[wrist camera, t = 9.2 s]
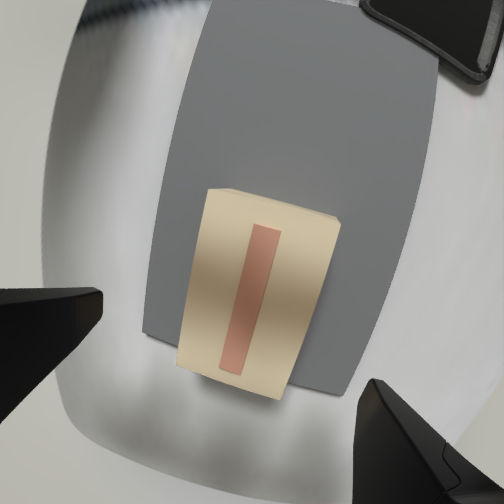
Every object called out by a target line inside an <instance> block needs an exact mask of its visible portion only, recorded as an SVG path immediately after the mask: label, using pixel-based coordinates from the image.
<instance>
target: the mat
mask: <svg viewBox="0 0 504 504" xmlns="http://www.w3.org/2000/svg"><path fill="white" fill-rule="evenodd" d="M438 64H439V56H437V55H436V54H434V53H433V52H431V51H430V50H428V49H427V48H425V47H423V46H422V45H420V44H419V43H417V42H415V41H414V40H412V39H410V38H409V37H407V36H405V35H403V34H402V33H400V32H398V31H396V30H394V29H393V28H391V27H389V26H387V25H385V24H383V23H381V22H379V21H377V20H375V19H373V18H372V17H370V16H369V15H367V14H366V13H365V12H364V11H363V9H362V8H359V7H355V6H350V5H346V4H341V3H337V2H332V1H326V0H213V1H212V4H211V7H210V9H209V12H208V15H207V18H206V21H205V24H204V26H203V29H202V32H201V35H200V38H199V41H198V45H197V48H196V51H195V54H194V57H193V61H192V64H191V67H190V71H189V74H188V77H187V81H186V85H185V88H184V92H183V95H182V99H181V103H180V107H179V111H178V115H177V119H176V123H175V127H174V131H173V135H172V140H171V144H170V148H169V153H168V158H167V162H166V167H165V172H164V177H163V182H162V187H161V193H160V198H159V204H158V209H157V215H156V221H155V227H154V234H153V241H152V247H151V255H150V262H149V270H148V278H147V287H146V296H145V306H144V316H143V328H142V332H143V333H146V334H148V335H150V336H153V337H155V338H158V339H160V340H163V341H165V342H168V343H170V344H173V345H176V346H178V345H179V339H180V333H181V327H182V321H183V315H184V309H185V303H186V297H187V292H188V286H189V281H190V275H191V270H192V265H193V260H194V255H195V249H196V244H197V240H198V235H199V230H200V225H201V220H202V216H203V211H204V206H205V202H206V197H207V193H208V189H229V188H231V189H235V190H239V191H243V192H247V193H251V194H254V195H258V196H262V197H266V198H270V199H274V200H277V201H281V202H285V203H288V204H292V205H296V206H299V207H303V208H306V209H310V210H313V211H317V212H320V213H324V214H327V215H331V216H334V217H336V218H337V219H338V221H339V222H340V224H341V227H340V230H339V234H338V237H337V240H336V244H335V247H334V250H333V254H332V257H331V260H330V263H329V266H328V270H327V273H326V276H325V279H324V282H323V285H322V288H321V291H320V294H319V297H318V300H317V303H316V306H315V309H314V312H313V315H312V318H311V320H310V323H309V326H308V329H307V332H306V334H305V337H304V340H303V343H302V345H301V348H300V351H299V353H298V356H297V359H296V361H295V364H294V367H293V369H292V372H291V374H290V377H289V379H288V383H292V384H296V385H300V386H303V387H307V388H311V389H315V390H319V391H324V392H328V393H332V394H337V395H341V396H343V395H344V393H345V391H346V389H347V387H348V385H349V383H350V381H351V379H352V377H353V375H354V373H355V370H356V368H357V366H358V364H359V362H360V360H361V357H362V355H363V353H364V351H365V348H366V346H367V344H368V341H369V339H370V337H371V334H372V332H373V329H374V327H375V324H376V322H377V319H378V317H379V314H380V312H381V309H382V307H383V304H384V301H385V299H386V296H387V293H388V290H389V288H390V285H391V282H392V279H393V276H394V273H395V270H396V267H397V264H398V261H399V258H400V255H401V252H402V249H403V245H404V242H405V239H406V235H407V232H408V228H409V225H410V221H411V218H412V214H413V210H414V206H415V202H416V198H417V194H418V190H419V186H420V181H421V177H422V172H423V168H424V163H425V158H426V153H427V148H428V142H429V136H430V130H431V124H432V118H433V111H434V103H435V95H436V86H437V76H438Z"/></svg>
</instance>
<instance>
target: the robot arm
mask: <svg viewBox="0 0 504 504" xmlns="http://www.w3.org/2000/svg"><path fill="white" fill-rule="evenodd" d="M102 314H103V293H102V291H100V290H98V289H96V288H94V287H78V288H24V289H23V288H20V289H0V424H1V423H2V421H3V420H4V419H5V418H6V417H7V416H8V415H9V414H10V413H11V412H12V411H13V410H14V409H15V408H16V407H17V406H18V405H19V403H20V402H22V401H23V399H24V398H25V397H26V396H27V395H28V394H29V393H30V392H31V391H32V390H33V389H34V388H35V387H36V386H37V385H38V384H39V383H40V382H41V381H42V380H43V379H44V378H45V377H46V376H47V375H48V374H49V373H50V372H51V371H52V370H53V369H55V368H56V367H57V366H58V365H59V364H60V363H61V362H62V361H63V360H64V359H65V358H66V357H67V356H68V355H69V354H70V353H71V352H72V351H73V350H74V349H75V348H76V347H77V346H78V345H79V344H80V343H81V341H82V340H83V339H84V338H85V337H86V336H87V334H88V333H89V332H90V331H91V330H92V328H93V327H94V326H95V325H96V324H97V323H98V322H99V320H100V319H101V317H102ZM352 504H504V489H503V488H502V487H500V486H499V485H497V484H496V483H495V482H494V481H492V480H491V479H490V478H489V477H487V476H486V475H485V474H483V473H482V472H481V471H480V470H479V469H477V468H476V467H475V466H474V465H472V464H471V463H470V462H469V461H468V460H466V459H465V458H464V457H463V456H462V455H461V454H459V452H457V451H456V450H455V449H454V448H453V447H452V446H451V445H450V444H449V443H448V442H446V440H445V439H444V438H443V437H442V436H441V435H440V434H438V433H437V432H436V431H435V430H434V429H433V428H432V427H431V426H430V425H429V424H428V423H427V422H426V421H425V420H424V419H423V418H422V417H421V416H420V415H419V414H418V413H417V412H416V411H414V410H413V409H412V408H411V407H410V406H409V405H408V404H407V403H406V402H405V401H404V400H403V399H402V398H401V397H400V396H399V395H398V394H397V393H396V392H395V391H394V390H393V389H392V388H391V387H389V386H388V385H387V384H386V383H385V382H384V381H383V380H379V379H374V378H372V379H370V380H369V381H368V383H367V385H366V387H365V389H364V391H363V393H362V395H361V397H360V399H359V401H358V405H357V415H356V425H355V434H354V443H353V496H352Z"/></svg>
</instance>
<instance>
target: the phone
mask: <svg viewBox="0 0 504 504" xmlns="http://www.w3.org/2000/svg"><path fill="white" fill-rule="evenodd" d="M359 8H362V9H363V11H364V12H365V13H366V14H367V15H369V16H370V17H372V18H373V19H375V20H377V21H379V22H381V23H383V24H385V25H387V26H389V27H391V28H393V29H394V30H396V31H398V32H400V33H402V34H403V35H405V36H407V37H409V38H410V39H412V40H414V41H415V42H417V43H419V44H420V45H422V46H423V47H425V48H427V49H428V50H430V51H431V52H433V53H434V54H436V55H437V56H439V63H440V64H442V65H443V66H444V67H446V68H447V69H449V70H450V71H451V72H453V73H454V74H456V75H457V76H458V77H460V78H461V79H462V80H464V81H465V82H467V83H469V84H473V85H479V84H481V83H482V82H484V81H486V80H487V79H489V77H490V76H491V73H492V70H493V67H494V64H495V61H496V57H497V54H498V50H499V47H500V43H501V39H502V35H503V31H504V0H360V1H359Z"/></svg>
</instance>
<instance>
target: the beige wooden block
mask: <svg viewBox="0 0 504 504" xmlns="http://www.w3.org/2000/svg"><path fill="white" fill-rule="evenodd" d="M340 227H341V224H340V222H339V221H338V219H337V218H336V217H334V216H331V215H327V214H324V213H320V212H317V211H313V210H310V209H306V208H303V207H299V206H296V205H292V204H288V203H285V202H281V201H277V200H274V199H270V198H266V197H262V196H258V195H254V194H251V193H247V192H243V191H239V190H235V189H231V188H229V189H208V193H207V197H206V202H205V206H204V211H203V216H202V220H201V225H200V230H199V235H198V240H197V244H196V249H195V255H194V260H193V265H192V270H191V275H190V281H189V286H188V292H187V297H186V303H185V309H184V315H183V321H182V327H181V333H180V339H179V345H178V352H177V359H176V365H178V366H180V367H183V368H185V369H188V370H190V371H193V372H196V373H198V374H201V375H203V376H206V377H209V378H212V379H214V380H217V381H220V382H223V383H226V384H229V385H232V386H235V387H238V388H241V389H244V390H247V391H250V392H253V393H256V394H260V395H263V396H266V397H269V398H273V399H276V400H280V399H281V397H282V394H283V392H284V389H285V387H286V384H287V382H288V379H289V377H290V374H291V372H292V369H293V367H294V364H295V361H296V359H297V356H298V353H299V351H300V348H301V345H302V343H303V340H304V337H305V334H306V332H307V329H308V326H309V323H310V320H311V318H312V315H313V312H314V309H315V306H316V303H317V300H318V297H319V294H320V291H321V288H322V285H323V282H324V279H325V276H326V273H327V270H328V266H329V263H330V260H331V257H332V254H333V250H334V247H335V244H336V240H337V237H338V234H339V230H340Z"/></svg>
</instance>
